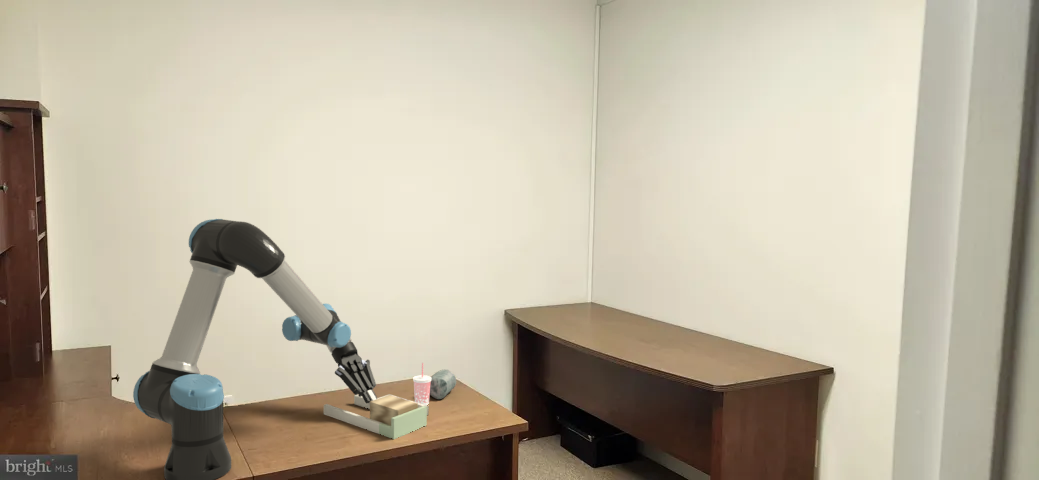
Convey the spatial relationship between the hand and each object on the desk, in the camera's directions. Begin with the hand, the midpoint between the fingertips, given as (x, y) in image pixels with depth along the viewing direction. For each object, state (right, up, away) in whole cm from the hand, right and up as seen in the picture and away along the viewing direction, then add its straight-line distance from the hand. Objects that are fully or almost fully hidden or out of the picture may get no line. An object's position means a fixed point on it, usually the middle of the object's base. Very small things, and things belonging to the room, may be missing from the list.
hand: (377, 410), depth 205 cm
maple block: (+6, -4, -4) cm, 8 cm away
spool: (+17, -2, +26) cm, 31 cm away
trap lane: (+1, -3, +3) cm, 5 cm away
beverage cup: (+11, -2, +16) cm, 20 cm away
